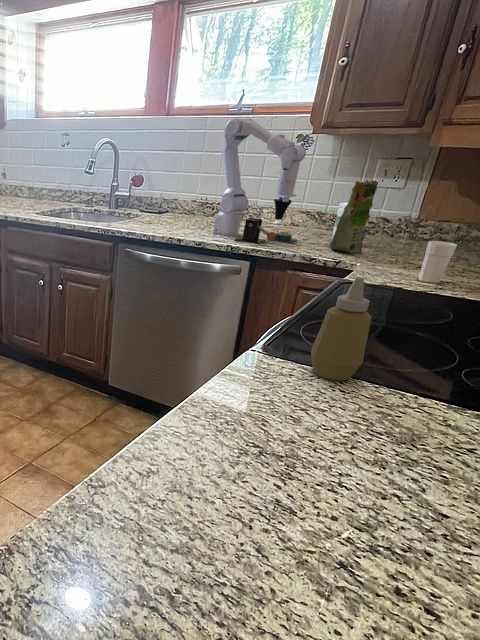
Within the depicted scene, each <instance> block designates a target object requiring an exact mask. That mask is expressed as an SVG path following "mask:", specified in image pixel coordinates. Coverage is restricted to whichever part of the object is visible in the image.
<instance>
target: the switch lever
mask: <svg viewBox="0 0 480 640" xmlns="http://www.w3.org/2000/svg"><path fill="white" fill-rule="evenodd" d="M252 220H254V219H252ZM258 224H259V223H258ZM257 229H258V230H260V233H261V232H262V233H263V234H265V235H266V240H267V239H269V240H268V241H271V240H273V239H274V238H275V237H276V234H275V233H276V232H274V231H268V230H267V229H265V228H263V227H262V226H261V227H260V226H259V225H258V227H257Z"/></svg>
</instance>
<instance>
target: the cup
mask: <svg viewBox="0 0 480 640" xmlns="http://www.w3.org/2000/svg"><path fill="white" fill-rule="evenodd" d="M457 246H458V244H457V243H453V242H449V241H442V240H429V241H427V245H426V248H425V251H424V252H425V254H424V257H423V260H422V264H421V268H420V271H419V275H418V278H417V280H419V281H421V282H425V283H432V284H433V283H434V284H438V283H441V281H442V278H443V277H444V274H445V272H446V270H447V268H448V266H449V263H450V262H451V258H452V257H453V255H454V253H455V251H456V249H457Z"/></svg>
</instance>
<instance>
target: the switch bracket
mask: <svg viewBox="0 0 480 640" xmlns="http://www.w3.org/2000/svg"><path fill="white" fill-rule="evenodd" d="M252 219H254V220H252ZM258 223H259V224H258ZM258 225H259V226H260V227H262V225H263V219H262V218H254V217H250V218H246V219H245V223H244V230H243V232H242V236H240V237H237V238H234V242H240V243H248V244H254V245H260V244H262V243H265V242H266V241H267V239H264V238H260V234H261V231H260V230H258V229H257V227H258Z"/></svg>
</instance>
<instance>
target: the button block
mask: <svg viewBox="0 0 480 640" xmlns="http://www.w3.org/2000/svg"><path fill="white" fill-rule="evenodd" d="M274 233H275V234H276V237H275V238H274V239H273V240H269V239H267V238H266V241H271V242H279V243H286V244H294V243H296V242H298V240H297V239H294V238H292V237H293V235H292V234H290V233H288V235H279V232H274Z"/></svg>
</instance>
